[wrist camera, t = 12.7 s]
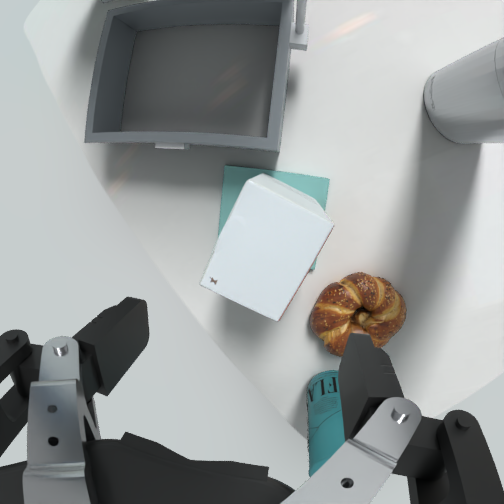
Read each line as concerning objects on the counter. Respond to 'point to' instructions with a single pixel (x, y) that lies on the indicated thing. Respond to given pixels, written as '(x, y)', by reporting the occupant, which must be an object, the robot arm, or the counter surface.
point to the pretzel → (365, 319)
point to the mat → (304, 183)
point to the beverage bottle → (324, 419)
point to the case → (183, 14)
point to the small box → (267, 246)
